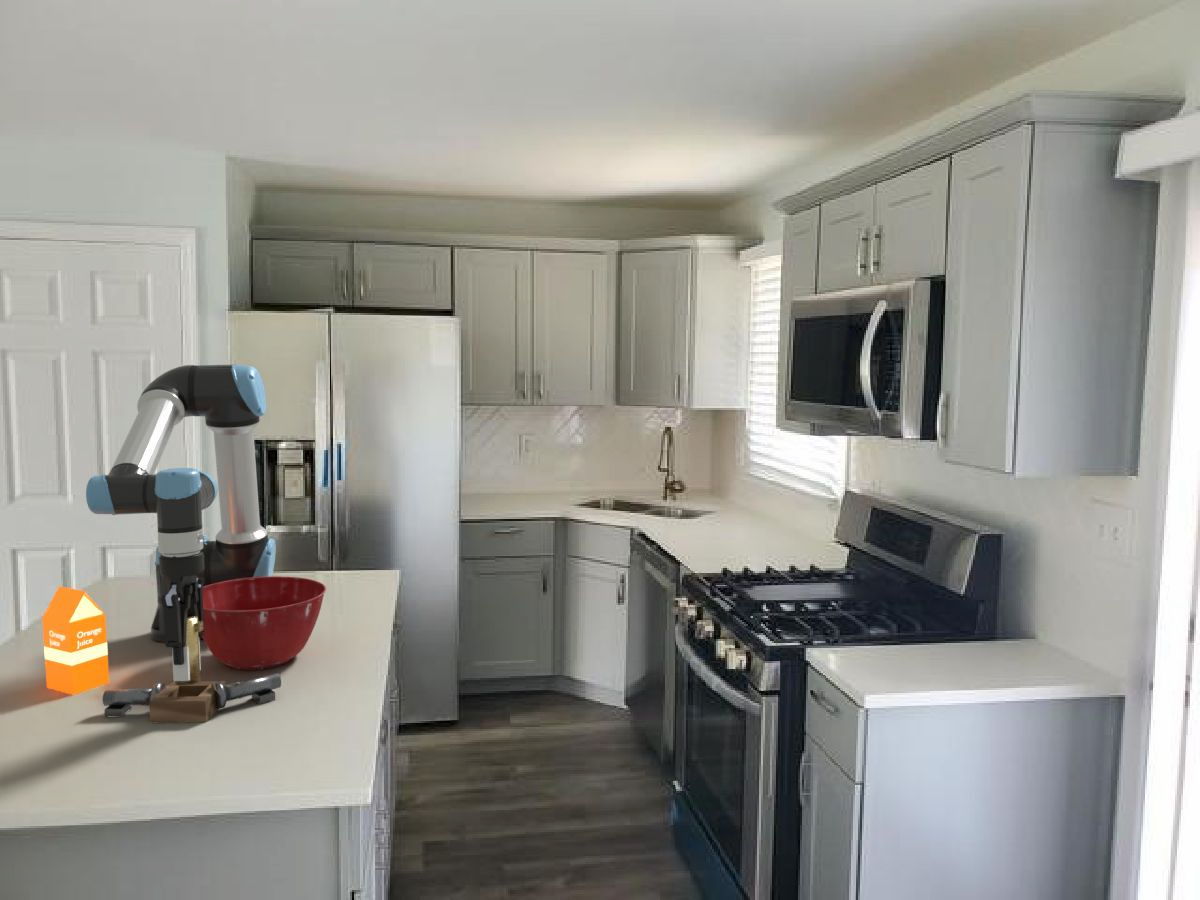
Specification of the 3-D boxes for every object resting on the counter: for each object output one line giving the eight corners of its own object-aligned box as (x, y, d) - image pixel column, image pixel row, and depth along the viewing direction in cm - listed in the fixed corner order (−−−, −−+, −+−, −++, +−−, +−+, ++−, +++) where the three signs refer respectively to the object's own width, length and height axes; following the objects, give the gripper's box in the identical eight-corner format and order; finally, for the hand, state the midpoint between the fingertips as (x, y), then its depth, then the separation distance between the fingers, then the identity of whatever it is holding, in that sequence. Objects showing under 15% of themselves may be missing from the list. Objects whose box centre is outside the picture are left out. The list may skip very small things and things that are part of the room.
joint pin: (176, 677, 172) (173, 615, 171) (208, 676, 172) (205, 615, 171) (166, 685, 168) (162, 622, 167) (199, 685, 168) (196, 621, 167)
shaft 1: (167, 707, 173) (166, 679, 173) (156, 717, 168) (154, 688, 168) (114, 707, 173) (112, 679, 172) (100, 718, 168) (99, 689, 167)
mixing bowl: (350, 643, 211) (349, 578, 209) (284, 687, 183) (281, 612, 181) (241, 636, 217) (238, 572, 215) (160, 677, 189) (156, 604, 187)
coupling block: (173, 702, 176) (172, 681, 175) (226, 701, 176) (225, 681, 176) (150, 722, 166) (149, 701, 165) (206, 721, 166) (205, 700, 166)
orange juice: (83, 675, 190) (77, 582, 188) (110, 682, 186) (104, 587, 184) (45, 688, 183) (39, 590, 181) (72, 695, 179) (66, 596, 177)
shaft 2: (221, 714, 169) (220, 686, 169) (211, 707, 173) (210, 679, 172) (284, 698, 177) (282, 671, 177) (273, 691, 181) (272, 664, 180)
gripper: (182, 562, 159) (189, 692, 162) (219, 542, 176) (224, 659, 179) (139, 563, 159) (145, 693, 161) (180, 543, 176) (185, 660, 178)
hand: (187, 675), depth 170 cm, fingers closed on joint pin, 4 cm apart
